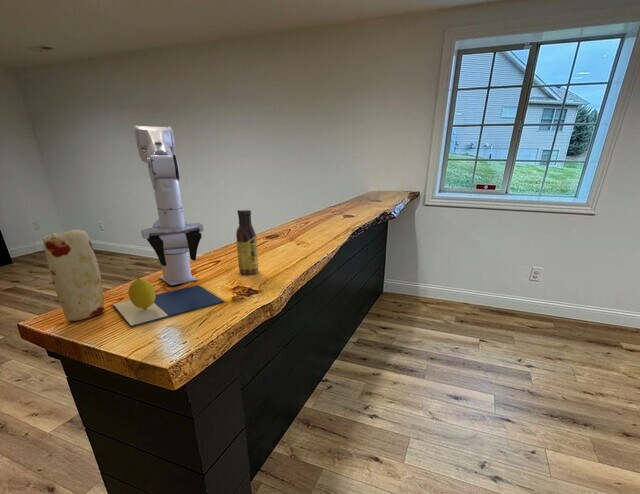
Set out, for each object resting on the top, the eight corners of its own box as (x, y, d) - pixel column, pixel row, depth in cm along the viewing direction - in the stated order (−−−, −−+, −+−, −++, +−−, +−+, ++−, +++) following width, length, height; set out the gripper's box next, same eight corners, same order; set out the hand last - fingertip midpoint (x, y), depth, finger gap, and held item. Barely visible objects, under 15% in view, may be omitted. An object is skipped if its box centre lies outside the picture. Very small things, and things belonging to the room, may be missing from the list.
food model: (77, 327, 76) (49, 236, 68) (57, 321, 78) (28, 233, 71) (116, 310, 85) (96, 227, 77) (97, 306, 87) (75, 225, 79)
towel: (113, 305, 87) (112, 303, 87) (198, 286, 101) (198, 284, 101) (131, 327, 76) (130, 325, 76) (223, 302, 90) (223, 300, 90)
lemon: (148, 315, 81) (141, 283, 78) (127, 313, 82) (119, 281, 79) (162, 306, 86) (157, 275, 83) (143, 304, 87) (136, 273, 84)
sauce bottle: (256, 275, 110) (252, 211, 102) (237, 275, 110) (230, 211, 102) (260, 269, 116) (256, 208, 108) (241, 269, 116) (236, 208, 108)
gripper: (143, 213, 77) (154, 271, 83) (205, 207, 86) (212, 260, 92) (134, 209, 82) (145, 264, 88) (194, 204, 91) (200, 255, 96)
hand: (178, 262), depth 90 cm, fingers open, 7 cm apart
